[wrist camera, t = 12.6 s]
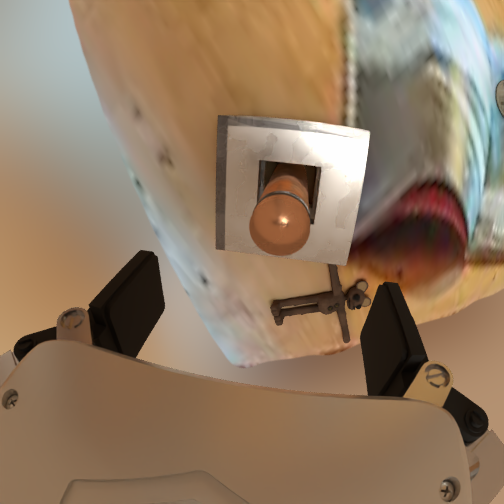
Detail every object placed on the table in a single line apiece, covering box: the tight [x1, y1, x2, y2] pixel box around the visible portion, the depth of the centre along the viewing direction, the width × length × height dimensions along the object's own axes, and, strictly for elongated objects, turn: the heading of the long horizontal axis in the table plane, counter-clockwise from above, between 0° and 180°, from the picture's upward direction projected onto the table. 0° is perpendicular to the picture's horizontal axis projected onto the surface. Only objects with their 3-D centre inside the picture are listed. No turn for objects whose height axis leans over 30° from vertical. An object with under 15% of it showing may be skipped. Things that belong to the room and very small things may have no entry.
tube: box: [249, 162, 311, 256], centre depth 26 cm, size 4×4×17 cm
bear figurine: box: [270, 264, 371, 343], centre depth 39 cm, size 18×4×14 cm
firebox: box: [216, 115, 370, 266], centre depth 30 cm, size 14×14×8 cm
